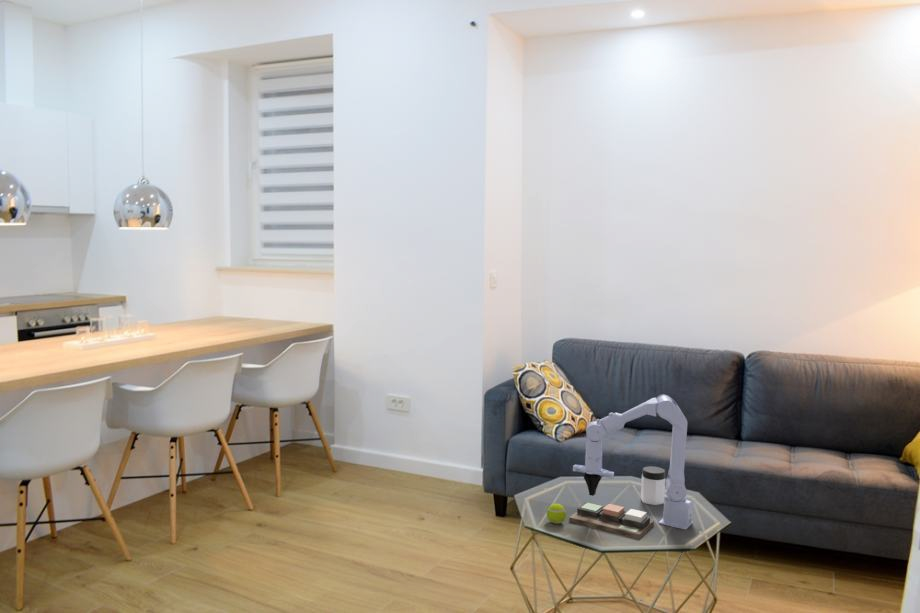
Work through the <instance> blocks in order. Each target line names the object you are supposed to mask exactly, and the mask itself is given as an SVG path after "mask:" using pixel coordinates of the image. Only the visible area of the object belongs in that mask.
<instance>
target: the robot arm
mask: <svg viewBox="0 0 920 613" xmlns="http://www.w3.org/2000/svg"><path fill="white" fill-rule="evenodd" d="M646 415H648V416H652V417H657V415H658V416H659V417H661V419H664V420H666V421H667V422H669V423H670V424H671V425H672V428H671V429H672V431H671V441H670V442H671V443H670V444H671V445H670V456H669V457H670V458H669V469H668V473H667V477H665V479H666V480H665V490H666V491H665V495H664V504H663V510H662V511H663V512H662V513H663V514H662V518H661V519H660V521H658V524H659V525H665V526H669V527H672V528H675V529H680V530H681V529H682V530H688V528H689V527H690V526H691V525H692V524H693V523H694V521H693V513H694V503H693V501H691V500H688V499H687V497H686V496H687V492H688V491H687V488H686V484H685V481H686V480H685V479H686V478H685V463H686V462H685V460H686V450H687V449H686V448H687V446H686V445H687V434H688V433H687V432H688V420H687V418H686V416H685V415H684V413H683V412H682V409H681V408H680V406H679V405H678V403H677V402H676V401H675V400H674V399H673V398H672V397H670V396H669V395H667V394H660V395H658V396H657V397H651V398H650V399H648V400H647V401H645V402H644V401H643V402H642V403H640V404H638V405H636V406H635V407H632V408H630V409H627V411H624V412H623V413H619V412H610V413H608V415H607V416H604V417H602V418H601V419H599V418H597V419H595V420H596V421H591V422H588V424H587V425H586V427H585V432H586V438H585V441H586V442H585V456H584V462H585V463H584V464H583V465H581V464H574V465H572V472H578V473H583V474H584V475H583V480H584V481H585V483H586V486H587V490H588V493H589V494H588V495H589V496H595V495H596V491H597V489H598V486H599V484H600V482H601V480H602V478H607V479H609V480H612V479H614V478H615V471H611V470H607V469H605V468H603V438H604V436H608V435H610V434H612V433H614V432H617V431H619V430H621V429H624V426H625V424H626V423H628V422H631V421H634V420H636V419H639V418H642V417H643V416H646Z"/></svg>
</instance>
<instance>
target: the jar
mask: <svg viewBox="0 0 920 613" xmlns="http://www.w3.org/2000/svg"><path fill="white" fill-rule="evenodd" d="M665 480H666V469H664V468H662V467H659V466H650V465H649V466H644V467H642V473H641V482H640V483H641V485H640V487H641V488H640V500H641V501H642V504H646V505H652V506H658V505H664V495H665V493H666V487H665Z"/></svg>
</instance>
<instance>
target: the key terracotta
mask: <svg viewBox="0 0 920 613" xmlns="http://www.w3.org/2000/svg"><path fill="white" fill-rule="evenodd" d="M624 511H625V507H624V506H621V505H617V504H612V503H608V504H606V505H605V507H604V508H603V514H606V515H610V516H614V517H620V516H621V515H622V514H623V513H624Z"/></svg>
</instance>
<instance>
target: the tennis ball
mask: <svg viewBox="0 0 920 613" xmlns="http://www.w3.org/2000/svg"><path fill="white" fill-rule="evenodd" d="M566 510H567V509H565V507H564V506H563V505H562V504H560V503H552V504H550V505H549V506H548V508H547V510H546V518H547V519H548V521H549V522H550V523H552V524H554V525H559V524H562V523H563V522H564V521H566V518H567V511H566Z"/></svg>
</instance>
